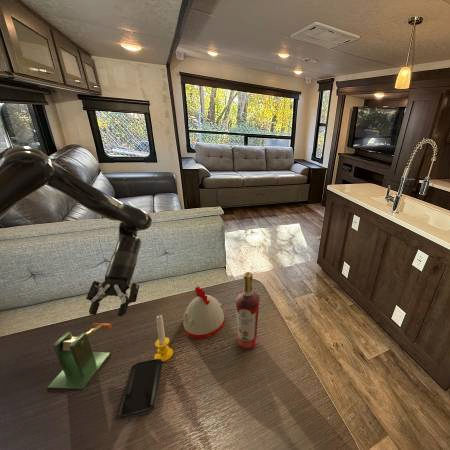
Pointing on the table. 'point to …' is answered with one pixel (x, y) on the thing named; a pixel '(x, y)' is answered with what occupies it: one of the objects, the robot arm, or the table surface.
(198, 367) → the table surface
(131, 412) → the phone
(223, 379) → the table surface
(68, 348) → the lever
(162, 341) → the candle
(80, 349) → the bracket
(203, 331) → the kitchen timer
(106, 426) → the table surface
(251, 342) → the liquor
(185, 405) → the table surface
